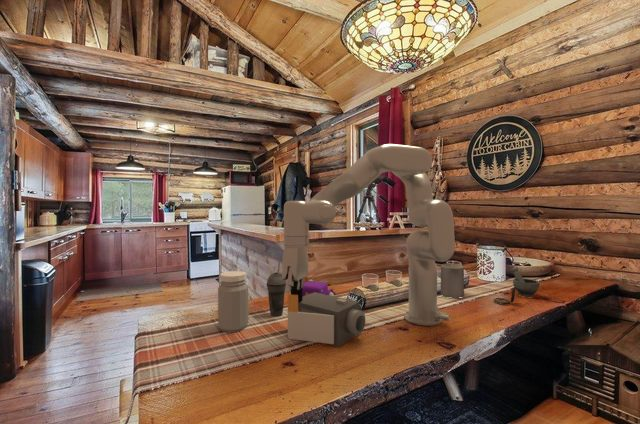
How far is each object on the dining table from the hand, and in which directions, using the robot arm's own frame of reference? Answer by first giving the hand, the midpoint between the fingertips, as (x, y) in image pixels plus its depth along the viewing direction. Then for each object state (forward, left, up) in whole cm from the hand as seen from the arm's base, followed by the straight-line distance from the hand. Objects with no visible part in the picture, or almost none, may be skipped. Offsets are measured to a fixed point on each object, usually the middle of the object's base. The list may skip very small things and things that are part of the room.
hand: (296, 301), depth 92 cm
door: (-6, 0, -10) cm, 12 cm away
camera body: (-6, -9, -11) cm, 16 cm away
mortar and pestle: (-52, -96, -12) cm, 110 cm away
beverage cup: (+20, -11, -12) cm, 25 cm away
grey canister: (-26, -76, -12) cm, 81 cm away
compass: (-46, -77, -12) cm, 91 cm away
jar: (+23, +6, -12) cm, 26 cm away
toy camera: (+13, -27, -12) cm, 32 cm away
